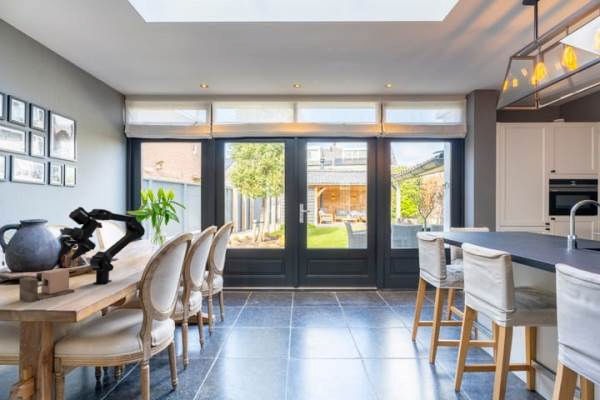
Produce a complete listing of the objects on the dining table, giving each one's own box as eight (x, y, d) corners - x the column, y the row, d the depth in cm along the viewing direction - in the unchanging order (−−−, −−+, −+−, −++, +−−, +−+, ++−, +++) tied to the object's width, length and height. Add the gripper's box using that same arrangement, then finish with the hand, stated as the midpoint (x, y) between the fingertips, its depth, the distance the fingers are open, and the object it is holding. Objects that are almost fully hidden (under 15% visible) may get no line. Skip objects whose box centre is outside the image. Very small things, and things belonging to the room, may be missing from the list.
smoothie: (73, 273, 188) (73, 238, 187) (58, 273, 188) (59, 237, 188) (83, 270, 196) (83, 236, 196) (69, 270, 196) (69, 235, 196)
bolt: (46, 284, 147) (46, 279, 147) (49, 284, 146) (49, 280, 146) (30, 287, 141) (30, 282, 141) (33, 288, 141) (33, 283, 141)
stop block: (61, 289, 156) (62, 270, 156) (74, 292, 153) (74, 272, 153) (18, 299, 140) (18, 278, 140) (30, 302, 137) (31, 280, 137)
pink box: (60, 287, 154) (60, 268, 154) (68, 289, 152) (69, 269, 152) (41, 292, 147) (41, 271, 147) (49, 293, 145) (50, 273, 145)
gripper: (61, 219, 160) (37, 247, 151) (87, 221, 153) (64, 251, 144) (78, 232, 168) (57, 260, 159) (104, 235, 161) (84, 264, 152)
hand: (65, 258), depth 153 cm, fingers open, 9 cm apart
